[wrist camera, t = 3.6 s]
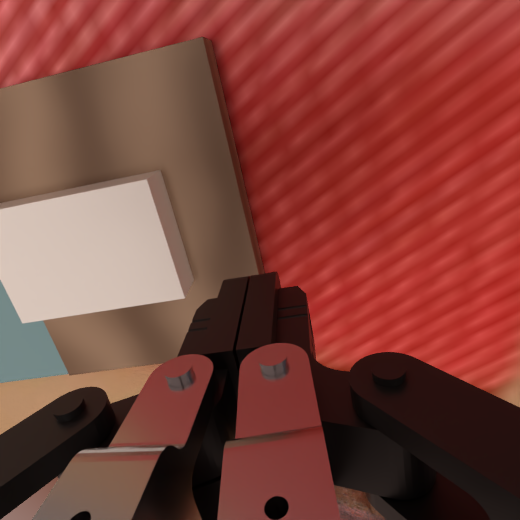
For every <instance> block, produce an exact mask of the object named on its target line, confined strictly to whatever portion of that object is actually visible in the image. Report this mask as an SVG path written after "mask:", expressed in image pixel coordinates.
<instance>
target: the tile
mask: <svg viewBox="0 0 520 520" xmlns="http://www.w3.org/2000/svg"><path fill="white" fill-rule="evenodd" d="M0 280H1V282H2V284H3V286H4V288H5V290H6V292H7V294H8V296H9V298H10V300H11V302H12V304H13V306H14V308H15V310H16V312H17V314H18V316H19V318H20V320H21V322H22V323H29V322H36V321H42V320H49V319H55V318H62V317H68V316H74V315H81V314H87V313H94V312H100V311H107V310H113V309H120V308H126V307H133V306H139V305H146V304H152V303H159V302H165V301H172V300H178V299H185V297H186V295H187V293H188V291H189V289H190V287H191V285H192V283H193V281H194V279H193V275H192V272H191V269H190V265H189V262H188V259H187V256H186V252H185V249H184V246H183V242H182V239H181V236H180V233H179V229H178V226H177V223H176V220H175V216H174V213H173V210H172V206H171V203H170V200H169V197H168V193H167V190H166V187H165V183H164V180H163V177H162V174H161V170H158V171H153V172H148V173H143V174H138V175H134V176H129V177H124V178H119V179H114V180H109V181H105V182H100V183H95V184H90V185H85V186H80V187H76V188H71V189H66V190H61V191H56V192H51V193H47V194H42V195H37V196H32V197H27V198H22V199H18V200H13V201H8V202H3V203H0Z"/></svg>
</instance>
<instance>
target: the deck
mask: <svg viewBox="0 0 520 520" xmlns="http://www.w3.org/2000/svg"><path fill="white" fill-rule="evenodd" d="M158 170H161V174H162V177H163V180H164V183H165V187H166V190H167V193H168V197H169V200H170V203H171V206H172V210H173V213H174V216H175V220H176V223H177V226H178V229H179V233H180V236H181V239H182V242H183V246H184V249H185V252H186V256H187V259H188V262H189V265H190V269H191V272H192V275H193V279H194V281H193V283H192V285H191V287H190V289H189V291H188V293H187V295H186V297H185V299H178V300H172V301H165V302H159V303H152V304H146V305H139V306H133V307H126V308H120V309H113V310H107V311H100V312H94V313H87V314H81V315H74V316H68V317H62V318H55V319H49V320H43V322H44V324H45V326H46V328H47V330H48V332H49V334H50V336H51V338H52V340H53V342H54V344H55V346H56V348H57V351H58V353H59V355H60V357H61V359H62V361H63V363H64V365H65V367H66V369H67V371H68V373H69V375H76V374H84V373H91V372H99V371H107V370H114V369H122V368H130V367H137V366H145V365H153V364H160V363H165V362H167V361H169V360H171V359H173V358H176V357H177V356H178V353H179V351H180V349H181V346H182V344H183V341H184V339H185V336H186V334H187V332H188V329H189V327H190V324H191V323H192V319H193V317H194V314H195V312H196V310H197V309H198V308H199V307H200V306H201V305H202V304H203V303H204V302H205V301H206V300H207V299H213V298H217V297H218V294H219V291H220V288H221V285H222V282H223V280H225V279H232V278H239V277H245V276H250V277H251V275H258V274H264V273H265V272H264V268H263V263H262V259H261V254H260V250H259V246H258V241H257V237H256V233H255V228H254V224H253V220H252V215H251V211H250V207H249V202H248V198H247V193H246V189H245V185H244V180H243V176H242V172H241V167H240V163H239V159H238V154H237V150H236V146H235V141H234V137H233V132H232V128H231V124H230V119H229V115H228V111H227V106H226V102H225V98H224V93H223V89H222V85H221V80H220V76H219V71H218V67H217V63H216V58H215V54H214V50H213V45H212V41H211V40H208V39H206V38H204V37H201V38H197V39H193V40H189V41H185V42H181V43H177V44H173V45H169V46H165V47H161V48H158V49H154V50H150V51H146V52H142V53H138V54H134V55H130V56H126V57H122V58H118V59H114V60H111V61H107V62H103V63H99V64H95V65H91V66H87V67H83V68H79V69H75V70H71V71H68V72H64V73H60V74H56V75H52V76H48V77H44V78H40V79H36V80H32V81H28V82H25V83H21V84H17V85H13V86H9V87H5V88H1V89H0V203H3V202H8V201H13V200H18V199H22V198H27V197H32V196H37V195H42V194H47V193H51V192H56V191H61V190H66V189H71V188H76V187H80V186H85V185H90V184H95V183H100V182H105V181H109V180H114V179H119V178H124V177H129V176H134V175H138V174H143V173H148V172H153V171H158Z"/></svg>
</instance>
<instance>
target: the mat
mask: <svg viewBox="0 0 520 520" xmlns="http://www.w3.org/2000/svg"><path fill="white" fill-rule="evenodd" d="M64 374H69V373H68V371H67V369H66V367H65V365H64V363H63V361H62V359H61V357H60V355H59V353H58V351H57V348H56V346H55V344H54V342H53V340H52V338H51V336H50V334H49V332H48V330H47V328H46V326H45V324H44V322H43V320H42V321H36V322H29V323H22V322H21V320H20V318H19V316H18V314H17V312H16V310H15V308H14V306H13V304H12V302H11V300H10V298H9V296H8V294H7V292H6V290H5V288H4V286H3V284H2V282H1V280H0V383H3V382H11V381H18V380H26V379H33V378H41V377H49V376H56V375H64Z"/></svg>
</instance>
